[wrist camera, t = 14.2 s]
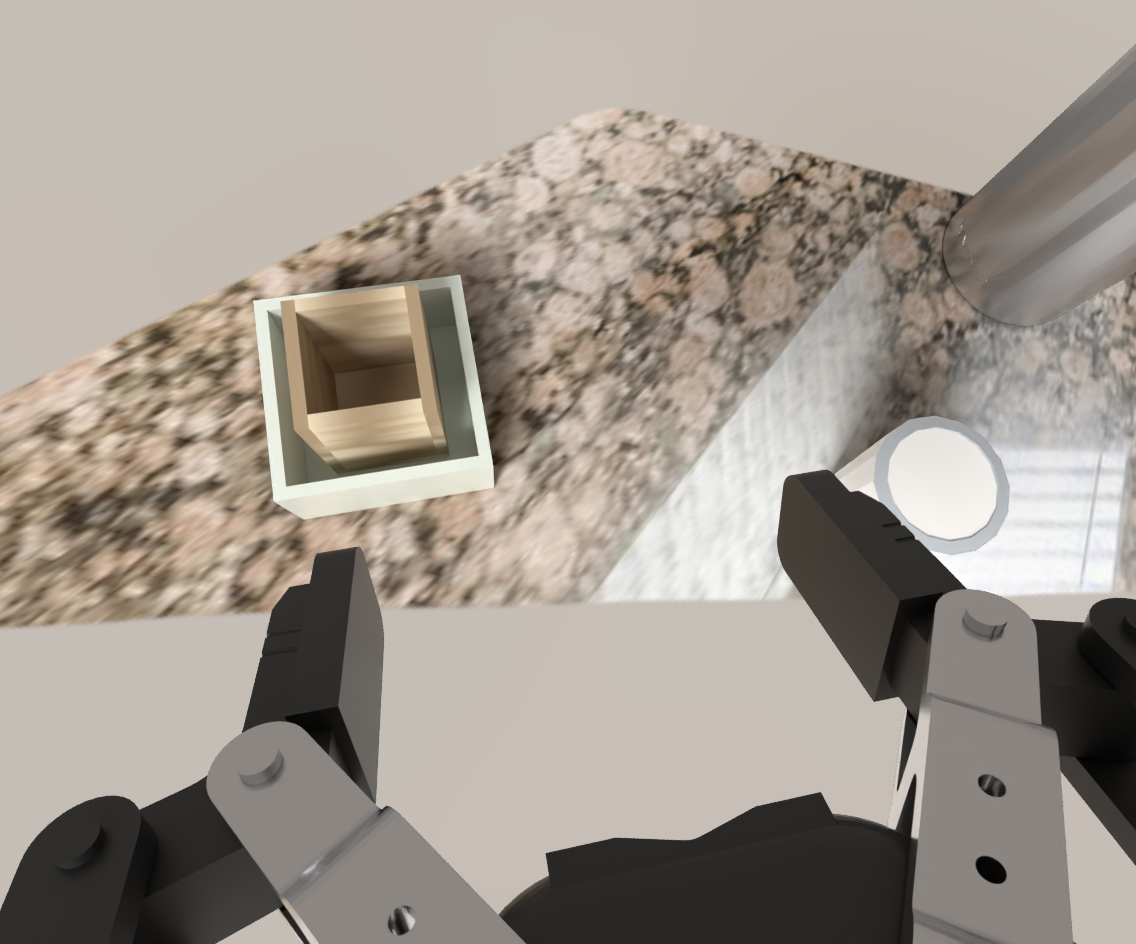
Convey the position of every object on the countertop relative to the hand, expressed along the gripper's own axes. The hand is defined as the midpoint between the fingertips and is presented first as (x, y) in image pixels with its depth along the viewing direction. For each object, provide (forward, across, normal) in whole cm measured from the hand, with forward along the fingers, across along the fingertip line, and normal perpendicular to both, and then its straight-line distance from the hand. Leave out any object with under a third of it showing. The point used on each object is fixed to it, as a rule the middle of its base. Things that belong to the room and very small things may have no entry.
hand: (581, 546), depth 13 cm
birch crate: (+25, +6, +9) cm, 28 cm away
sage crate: (+26, +6, +10) cm, 28 cm away
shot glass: (+19, -20, +17) cm, 32 cm away
